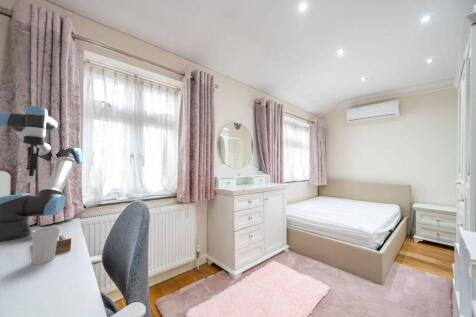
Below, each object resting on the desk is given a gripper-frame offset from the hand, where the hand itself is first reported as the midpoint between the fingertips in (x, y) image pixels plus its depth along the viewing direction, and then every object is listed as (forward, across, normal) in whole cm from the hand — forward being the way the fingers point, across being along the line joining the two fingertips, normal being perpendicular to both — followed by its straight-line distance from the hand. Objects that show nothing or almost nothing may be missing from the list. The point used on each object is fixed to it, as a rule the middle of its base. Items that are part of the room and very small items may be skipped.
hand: (30, 182), depth 98 cm
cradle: (+30, +16, +7) cm, 35 cm away
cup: (+30, +34, +2) cm, 46 cm away
